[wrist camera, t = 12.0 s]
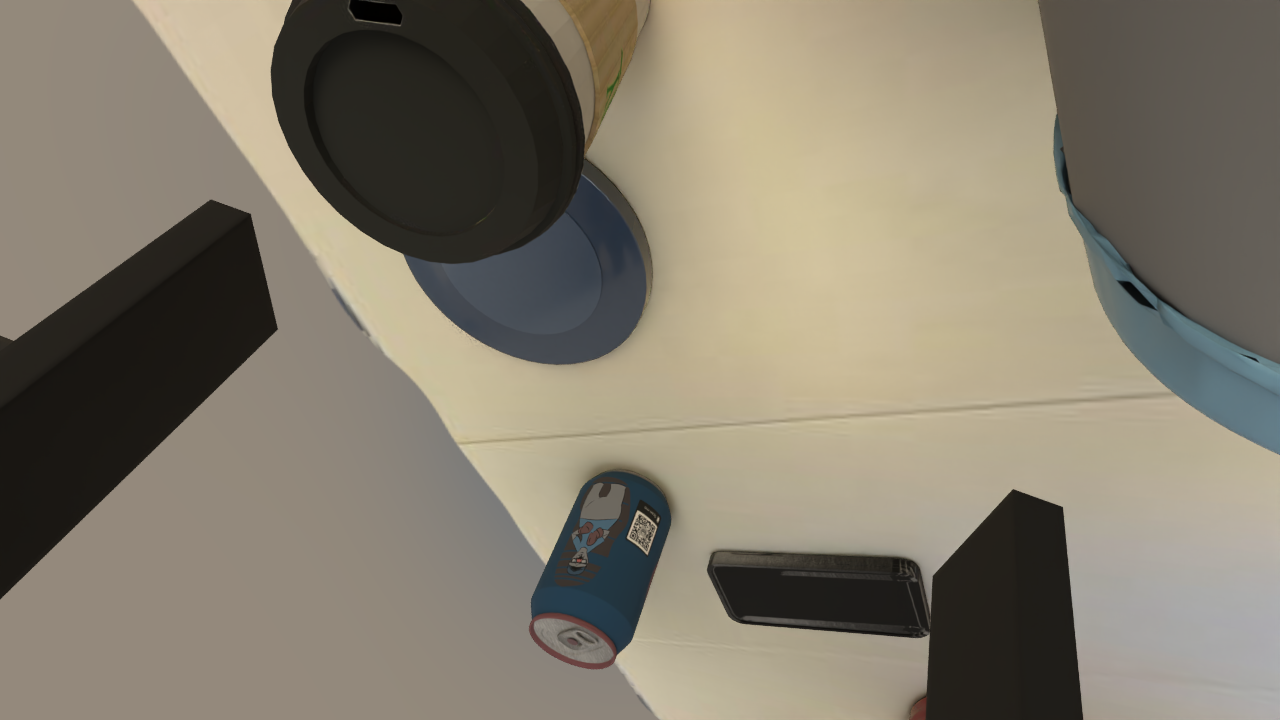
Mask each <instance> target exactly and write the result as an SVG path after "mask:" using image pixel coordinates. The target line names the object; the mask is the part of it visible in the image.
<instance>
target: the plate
mask: <svg viewBox="0 0 1280 720" xmlns="http://www.w3.org/2000/svg"><path fill="white" fill-rule="evenodd" d="M403 255H404V257H405V259H406V262H407V264H408V266H409V268H410V270H411V272H412V274H413V275H414V277H415V279H416V281H417V282H418V284H419V285H420V287H421V288H422V289H423V291H424V292H425V294H426V295H427V296H428V297H429V298H430V300H431V301H432V302H433V303H434V304H435V306H436V307H437V308H438V309H439V310H440V311H441V312H442V313H443V314H444V315H445V316H446V317H447V318H449V319H450V320H451V321H452V322H453V323H455V324H456V325H457V326H458V327H459V328H461V329H462V330H464V331H465V332H466V333H468V334H469V335H471V336H472V337H474V338H475V339H477V340H479V341H480V342H482V343H484V344H485V345H487V346H489V347H492V348H494V349H496V350H498V351H500V352H502V353H505V354H508V355H510V356H513V357H516V358H520V359H523V360H527V361H531V362H537V363H542V364H554V365H564V364H576V363H582V362H587V361H590V360H593V359H597V358H599V357H601V356H603V355H605V354H608V353H609V352H611V351H612V350H614V349H615V348H617V347H618V346H620V345H621V344H622V343H623V342H624V341H625V340H626V339H627V338H628V337H629V336H630V334H631V333H632V332H633V330H634V329H635V328H636V326H637V324H638V322H639V320H640V318H641V316H642V314H643V312H644V310H645V308H646V305H647V303H648V299H649V296H650V292H651V285H652V262H651V256H650V251H649V246H648V243H647V240H646V237H645V234H644V231H643V229H642V227H641V225H640V223H639V221H638V219H637V217H636V215H635V213H634V212H633V210H632V208H631V207H630V205H629V204H628V202H627V200H626V199H625V198H624V197H623V195H622V194H621V193H620V192H619V190H618V189H617V188H616V187H615V185H614V184H613V183H612V182H611V181H610V180H609V179H608V178H607V177H606V176H605V175H604V174H603V173H602V172H601V171H599V170H598V169H597V168H596V167H594V166H593V165H592V164H591V163H589V162H588V161H587V160H586V159H584V167H583V171H582V174H581V178H580V181H579V185H578V188H577V192H576V194H575V195H574V197H573V199H572V201H571V202H570V204H569V206H568V208H567V209H566V211H565V213H564V214H563V215H562V216H561V217H560V218H559V219H558V220H557V221H556V222H555V223H554V224H553V225H552V226H551V227H550V228H549V229H548V230H547V231H546V232H544V233H543V234H542V235H541V236H539V237H537V238H536V239H534V240H532V241H531V242H529V243H527V244H526V245H524V246H522V247H520V248H518V249H515V250H512V251H508V252H505V253H502V254H499V255H493V256H492V257H488V258H485V259H482V260H479V261H476V262H472V263H459V264H446V263H437V262H428V261H425V260H421V259H418V258H414V257H411V256H407V255H405V254H403Z"/></svg>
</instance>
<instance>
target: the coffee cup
mask: <svg viewBox="0 0 1280 720" xmlns="http://www.w3.org/2000/svg"><path fill="white" fill-rule="evenodd" d="M649 7H650V0H292V3H291V5H290V7H289V10H288V12H287V14H286V17H285V21H284V25H283V27H282V29H281V32H280V34H279V36H278V39H277V41H276V43H275V46H274V52H273V58H272V65H271V83H272V97H273V101H274V105H275V109H276V113H277V117H278V121H279V124H280V126H281V129H282V131H283V134H284V136H285V139H286V141H287V143H288V146H289V148H290V150H291V151H292V153H293V155H294V157H295V158H296V160H297V162H298V163H299V165H300V167H301V169H302V170H303V172H304V173H305V175H306V176H307V177H308V179H309V180H310V181H311V182H312V184H313V185H314V186H315V188H316V189H317V190H318V192H319V193H320V194H321V195H322V196H323V197H324V198H325V199H326V200H327V201H328V202H329V203H330V204H331V206H332V207H333V208H334V209H335V210H336V211H337V212H338V213H339V214H340V215H342V216H343V217H344V218H345V219H347V220H348V221H349V222H350V223H352V224H353V225H354V226H355V227H357V228H358V229H359V230H360V231H362V232H363V233H365V234H366V235H368V236H370V237H371V238H373V239H375V240H376V241H378V242H379V243H381V244H383V245H385V246H387V247H389V248H391V249H394V250H396V251H398V252H400V253H402V254H405V255H407V256H411V257H414V258H418V259H421V260H425V261H428V262H437V263H446V264H459V263H472V262H476V261H479V260H482V259H485V258H488V257H492V256H493V255H499V254H502V253H505V252H508V251H512V250H515V249H518V248H520V247H522V246H524V245H526V244H527V243H529V242H531V241H532V240H534V239H536V238H537V237H539V236H541V235H542V234H543V233H544V232H546V231H547V230H548V229H549V228H550V227H551V226H552V225H553V224H554V223H555V222H556V221H557V220H558V219H559V218H560V217H561V216H562V215H563V214H564V213H565V211H566V209H567V208H568V206H569V204H570V202H571V201H572V199H573V197H574V195H575V194H576V192H577V188H578V185H579V181H580V178H581V174H582V171H583V167H584V156H585V154H586V152H587V151H588V149H589V147H590V145H591V143H592V141H593V139H594V137H595V135H596V133H597V131H598V129H599V127H600V124H601V122H602V120H603V118H604V116H605V114H606V112H607V110H608V108H609V105H610V103H611V101H612V99H613V97H614V95H615V93H616V91H617V88H618V86H619V84H620V82H621V80H622V78H623V76H624V74H625V71H626V69H627V67H628V65H629V63H630V61H631V58H632V55H633V52H634V48H635V45H636V40H637V38H638V36H639V34H640V32H641V29H642V27H643V25H644V23H645V21H646V18H647V14H648V11H649Z"/></svg>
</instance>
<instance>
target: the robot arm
mask: <svg viewBox="0 0 1280 720" xmlns="http://www.w3.org/2000/svg"><path fill="white" fill-rule="evenodd" d="M1038 3H1039V9H1040V14H1041V20H1042V26H1043V32H1044V38H1045V43H1046V49H1047V55H1048V61H1049V66H1050V72H1051V78H1052V84H1053V90H1054V95H1055V101H1056V107H1057V115H1056V120H1055V127H1054V161H1055V169H1056V176H1057V180H1058V184H1059V189H1060V191H1061V192H1062V193H1063V194H1064V195H1065V197H1066V202H1067V208H1068V213H1069V216H1070V217H1071V219H1072V221H1073V222H1074V224H1075V226H1076V227H1077V229H1078V231H1079V233H1080V234H1081V236H1082V238H1083V240H1084V245H1085V249H1086V253H1087V258H1088V262H1089V266H1090V270H1091V274H1092V279H1093V283H1094V287H1095V290H1096V293H1097V295H1098V298H1099V300H1100V303H1101V305H1102V307H1103V309H1104V311H1105V314H1106V315H1107V317H1108V319H1109V320H1110V322H1111V324H1112V325H1113V327H1114V328H1115V330H1116V332H1117V333H1118V335H1119V336H1120V338H1121V339H1122V341H1123V342H1124V343H1125V345H1126V346H1127V347H1128V348H1129V350H1130V351H1131V352H1132V353H1133V354H1134V356H1135V357H1136V358H1137V359H1138V360H1139V361H1140V362H1141V363H1142V364H1143V365H1144V366H1145V367H1146V368H1147V369H1148V370H1149V371H1150V372H1151V374H1153V375H1154V376H1155V377H1156V378H1157V379H1158V380H1159V381H1160V382H1162V383H1163V384H1164V385H1165V386H1166V387H1167V388H1168V389H1170V390H1171V391H1172V392H1174V393H1175V394H1176V395H1177V396H1179V397H1180V398H1181V399H1183V400H1184V401H1185V402H1186V403H1188V404H1189V405H1191V406H1192V407H1194V408H1195V409H1197V410H1198V411H1200V412H1201V413H1203V414H1204V415H1206V416H1207V417H1209V418H1210V419H1212V420H1214V421H1215V422H1217V423H1219V424H1220V425H1222V426H1224V427H1226V428H1227V429H1229V430H1231V431H1233V432H1234V433H1236V434H1238V435H1240V436H1242V437H1244V438H1246V439H1248V440H1250V441H1252V442H1254V443H1256V444H1258V445H1260V446H1262V447H1264V448H1266V449H1268V450H1270V451H1272V452H1275V453H1277V454H1279V455H1280V0H1038ZM277 329H278V328H277V324H276V319H275V315H274V311H273V307H272V303H271V298H270V294H269V290H268V286H267V281H266V278H265V273H264V269H263V264H262V260H261V256H260V252H259V248H258V243H257V239H256V235H255V231H254V227H253V222H252V218H251V214H249V213H246V212H244V211H241V210H238V209H236V208H233V207H230V206H227V205H224V204H222V203H219V202H216V201H213V200H210V201H208V202H207V203H205V204H204V205H203V206H201V207H200V208H198V209H197V210H196V211H194V212H193V213H191V214H190V215H189V216H187V217H186V218H184V219H183V220H182V221H180V222H179V223H178V224H176V225H175V226H173V227H172V228H171V229H169V230H168V231H167V232H165V233H164V234H162V235H161V236H159V237H158V238H157V239H155V240H154V241H152V242H151V243H150V244H148V245H147V246H146V247H144V248H143V249H141V250H140V251H139V252H137V253H136V254H134V255H133V256H132V257H130V258H129V259H128V260H126V261H125V262H123V263H122V264H121V265H119V266H118V267H116V268H115V269H114V270H112V271H111V272H109V273H108V274H107V275H105V276H104V277H102V278H101V279H100V280H98V281H97V282H96V283H94V284H93V285H91V286H90V287H89V288H87V289H86V290H85V291H83V292H82V293H80V294H79V295H78V296H76V297H75V298H73V299H72V300H70V301H69V302H68V303H66V304H65V305H64V306H62V307H61V308H59V309H58V310H57V311H55V312H54V313H52V314H51V315H50V316H48V317H47V318H46V319H44V320H43V321H41V322H40V323H38V324H37V325H36V326H34V327H33V328H32V329H30V330H29V331H28V332H26V333H25V334H23V335H22V336H20V337H19V338H18V339H17V340H15V341H12V340H10V339H7V338H5V337H2V336H0V599H1V598H2V597H3V596H4V595H5V594H6V593H7V592H8V591H9V590H10V589H11V588H12V587H13V586H14V585H15V584H16V583H17V582H18V581H19V580H21V579H22V578H23V577H24V576H25V575H26V574H27V573H28V572H29V571H30V570H31V569H32V568H33V567H34V566H35V565H36V564H37V563H38V562H39V561H40V560H41V559H42V558H43V557H44V556H45V555H46V554H47V553H48V552H49V551H50V550H51V549H52V548H53V547H54V546H55V545H57V543H59V542H60V541H61V540H62V539H63V538H64V537H65V536H66V535H67V534H68V533H69V532H70V531H71V530H72V529H73V528H74V527H75V526H76V525H77V524H78V523H79V522H80V521H81V520H82V519H83V518H84V517H85V516H86V515H87V514H88V513H89V512H90V511H91V510H92V509H93V508H95V506H97V505H98V504H99V503H100V502H101V501H102V500H103V499H104V498H105V497H106V496H107V495H108V494H109V493H110V492H111V491H112V490H113V489H114V488H115V487H116V486H117V485H118V484H119V483H120V482H121V481H122V480H123V479H124V478H125V477H126V476H127V475H128V474H130V473H131V472H132V471H133V470H134V469H135V468H136V467H137V466H138V465H139V464H140V463H141V462H142V461H143V460H144V459H145V458H146V457H147V456H148V455H149V454H150V453H151V452H152V451H153V450H154V449H155V448H156V447H157V446H158V445H159V444H160V443H161V442H162V441H163V440H164V439H165V438H166V437H167V436H168V435H170V434H171V433H172V432H173V431H174V430H175V429H176V428H177V427H178V426H179V425H180V424H181V423H182V422H183V421H184V420H185V419H186V418H187V417H188V416H189V415H190V414H191V413H192V412H193V411H194V410H195V409H196V408H197V407H198V406H199V405H201V404H202V402H204V401H205V399H207V398H208V397H209V396H210V395H211V394H212V393H213V392H214V391H215V390H216V389H217V388H218V387H219V386H220V385H221V384H222V383H223V382H224V381H225V380H226V379H227V378H228V377H229V376H230V375H231V374H232V373H233V372H234V371H235V370H237V368H239V367H240V366H241V365H242V364H243V363H244V362H245V361H246V360H247V358H249V357H250V356H251V355H252V354H253V353H254V352H255V351H256V350H257V349H258V348H259V347H260V346H261V345H262V344H263V343H264V342H265V341H266V340H267V339H268V338H269V337H270V336H271V335H273V333H275V331H276V330H277ZM925 720H1083V713H1082V702H1081V692H1080V681H1079V671H1078V660H1077V650H1076V639H1075V629H1074V618H1073V608H1072V597H1071V587H1070V576H1069V566H1068V556H1067V545H1066V535H1065V524H1064V514H1063V507H1061V506H1058V505H1055V504H1053V503H1050V502H1047V501H1044V500H1042V499H1039V498H1036V497H1033V496H1030V495H1028V494H1025V493H1022V492H1019V491H1017V490H1014V489H1013V490H1012V491H1011V492H1010V493H1009V494H1008V495H1007V496H1006V497H1005V498H1004V499H1003V501H1002V502H1001V503H1000V504H999V505H998V506H997V507H996V508H995V509H994V510H993V511H992V513H991V514H990V515H989V516H988V517H987V518H986V519H985V520H984V521H983V522H982V523H981V524H980V526H979V527H978V528H977V529H976V530H975V531H974V532H973V533H972V534H971V535H970V536H969V537H968V539H967V540H966V541H965V542H964V543H963V544H962V545H961V546H960V547H959V548H958V549H957V550H956V552H955V553H954V554H953V555H952V556H951V557H950V558H949V559H948V560H947V561H946V562H945V563H944V565H943V566H942V567H941V568H940V569H939V570H938V571H937V572H936V573H935V574H934V575H933V582H932V602H931V621H930V641H929V660H928V680H927V699H926V719H925Z"/></svg>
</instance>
